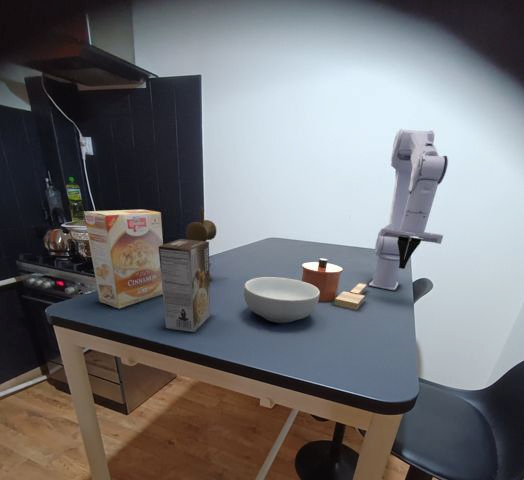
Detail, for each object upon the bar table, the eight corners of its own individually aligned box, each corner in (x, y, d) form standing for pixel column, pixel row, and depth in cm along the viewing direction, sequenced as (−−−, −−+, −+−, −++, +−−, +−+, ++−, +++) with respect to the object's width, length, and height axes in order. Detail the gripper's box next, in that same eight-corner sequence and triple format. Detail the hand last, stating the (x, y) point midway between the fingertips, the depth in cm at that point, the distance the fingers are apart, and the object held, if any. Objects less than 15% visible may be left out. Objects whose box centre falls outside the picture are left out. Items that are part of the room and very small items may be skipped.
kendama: (187, 283, 91) (184, 207, 81) (199, 274, 99) (197, 205, 90) (207, 285, 90) (206, 209, 81) (217, 277, 98) (218, 207, 89)
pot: (307, 287, 95) (311, 262, 91) (340, 294, 91) (345, 268, 87) (294, 296, 87) (297, 268, 83) (329, 304, 83) (334, 275, 79)
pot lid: (309, 264, 92) (311, 253, 91) (346, 270, 88) (348, 259, 86) (295, 271, 83) (296, 259, 82) (335, 278, 79) (337, 266, 78)
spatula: (351, 288, 98) (353, 281, 97) (371, 292, 95) (373, 285, 94) (333, 305, 83) (335, 297, 82) (356, 310, 80) (358, 302, 79)
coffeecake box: (119, 309, 70) (104, 214, 61) (98, 302, 73) (81, 210, 64) (168, 293, 82) (162, 211, 73) (148, 287, 85) (140, 208, 76)
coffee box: (183, 312, 71) (179, 238, 64) (210, 316, 70) (210, 241, 63) (164, 328, 63) (157, 245, 56) (194, 333, 62) (191, 249, 55)
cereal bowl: (305, 338, 64) (310, 304, 60) (230, 322, 68) (231, 290, 65) (321, 311, 78) (326, 283, 75) (258, 299, 82) (260, 272, 79)
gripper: (384, 210, 78) (371, 265, 84) (449, 216, 72) (430, 275, 78) (388, 209, 83) (376, 261, 89) (449, 215, 77) (432, 270, 84)
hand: (401, 267), depth 84 cm, fingers closed
